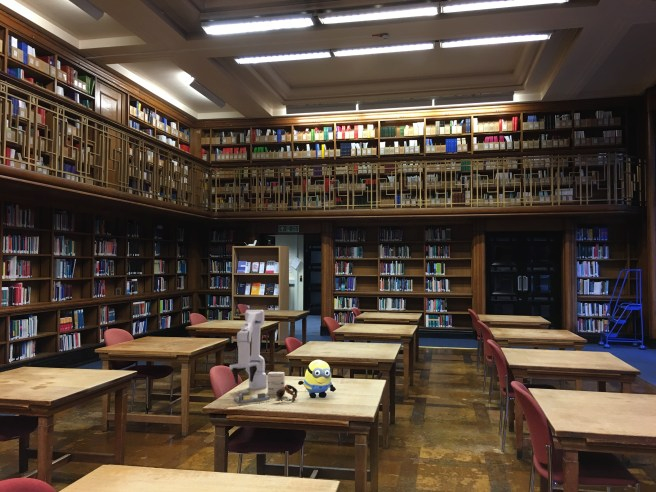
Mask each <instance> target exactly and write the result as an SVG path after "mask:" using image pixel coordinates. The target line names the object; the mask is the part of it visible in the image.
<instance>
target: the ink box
mask: <svg viewBox="0 0 656 492" xmlns="http://www.w3.org/2000/svg"><path fill="white" fill-rule="evenodd" d="M266 376H267V395H268V394H270V395H272V394H273V395H276V392H277V391H278V390H279V389H281V388H282V387H285V385H286V384H285V383H286V382H285V381H286V380H285V372H284V371H270V372H268V373H267V374H266Z"/></svg>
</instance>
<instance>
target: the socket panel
mask: <svg viewBox="0 0 656 492" xmlns="http://www.w3.org/2000/svg"><path fill="white" fill-rule="evenodd" d="M270 398H271V397H270V396H269V395H268V394H266V393H265V397H264V398H258V397H254V396H252V395H251V399H249V400H239V397H233V400H234V401H235V402H237V404H240V405H238V407H241V406H243V404H245V406H248V405H249V406H250V403H253V402H254V403H253V405H254V404H257V402H258V401H259V402H260V401H263V402H260V404H263V403H265V401H266V400H269V401H267V403H269V402H270V400H271V399H270ZM247 403H248V404H247Z"/></svg>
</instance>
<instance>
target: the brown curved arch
mask: <svg viewBox="0 0 656 492" xmlns="http://www.w3.org/2000/svg"><path fill="white" fill-rule="evenodd" d="M298 392H299V391H298V389H297V388H296V387H294V386H293V385H290V384H285V387H282V388H281V389H279V390H278V391H277V392H276V394H275V395H276V397H277V398H278V399H280V400H282V399H283V397H284V396H285V395H286V394H285V393H287V394H289V395H291V397H292V398H291V401H295V400H296V399H297V397H298Z"/></svg>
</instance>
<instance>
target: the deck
mask: <svg viewBox="0 0 656 492" xmlns="http://www.w3.org/2000/svg"><path fill="white" fill-rule="evenodd" d="M229 395H231V396H232V397H233V398H234V397H237V398H239V391H238V392H231V393H230V392H229Z"/></svg>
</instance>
